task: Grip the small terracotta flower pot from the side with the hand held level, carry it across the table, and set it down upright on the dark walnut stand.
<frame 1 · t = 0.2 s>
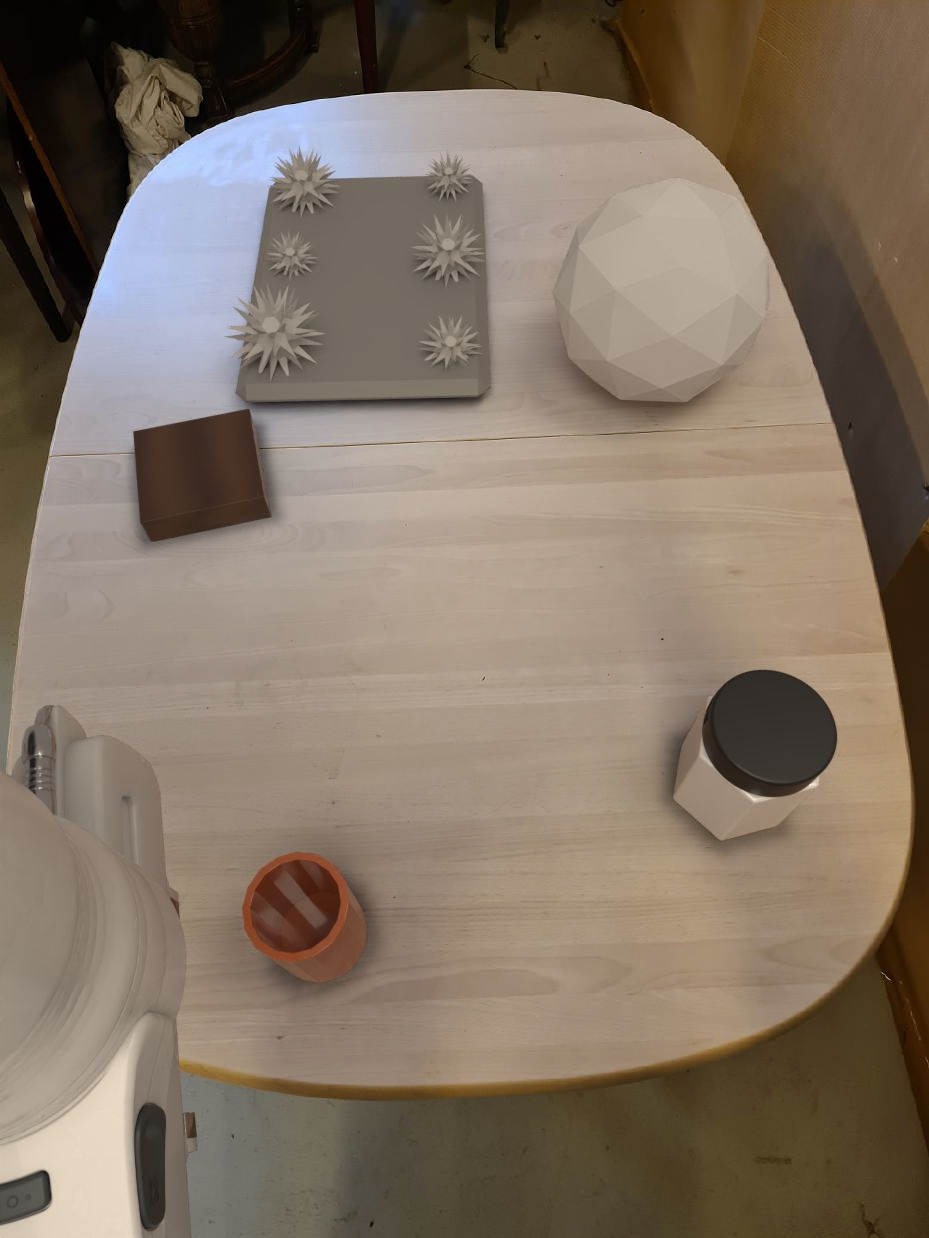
hand: (170, 1018, 39), 21 cm above the table, tool pointing down, fingers open, 8 cm apart
pot: (322, 933, 61), on the table
sphere: (643, 372, 88), on the table
jar: (726, 786, 66), on the table
decorative tray: (368, 295, 94), on the table
stand: (205, 483, 81), on the table
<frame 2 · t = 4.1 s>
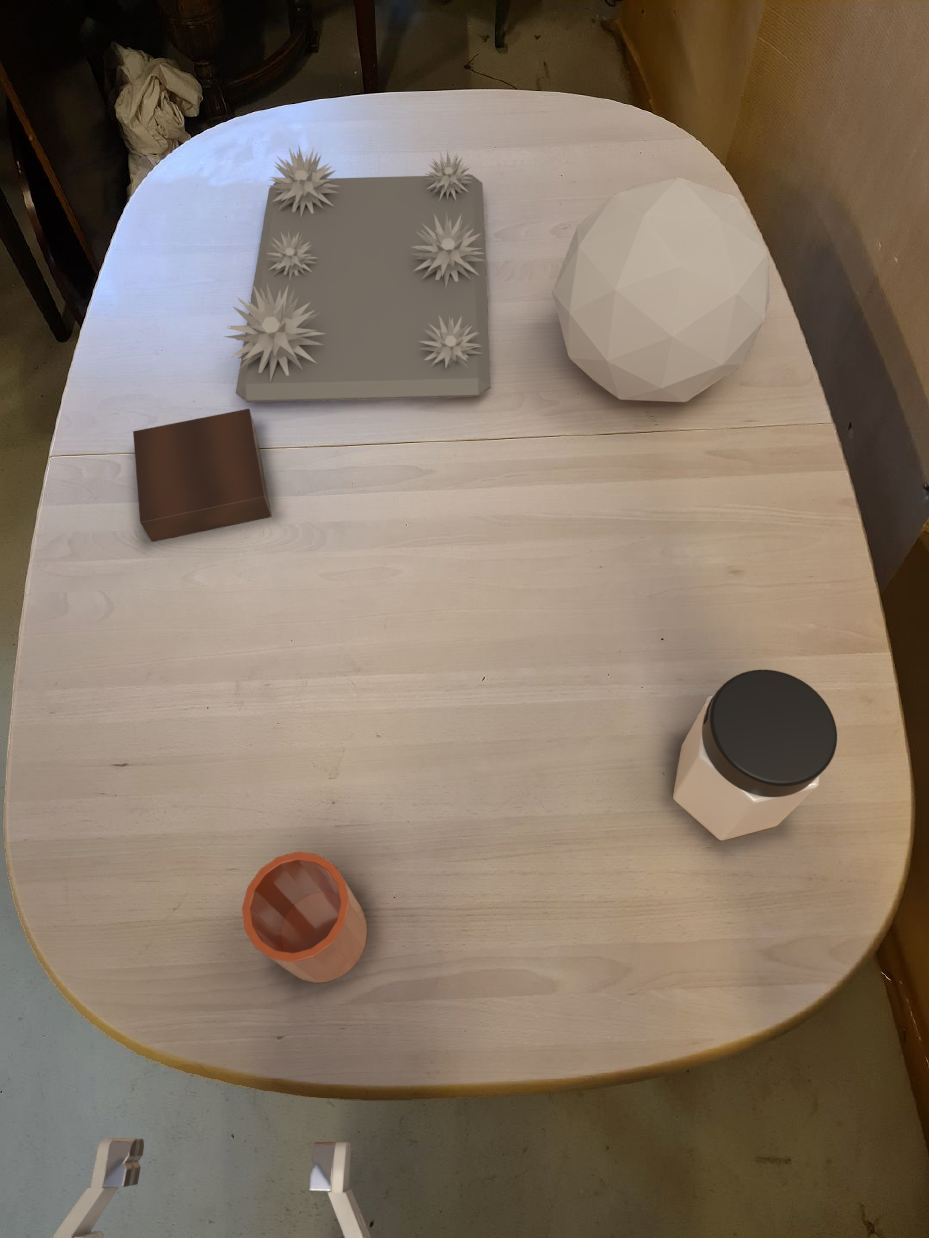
hand: (227, 1139, 38), 19 cm above the table, tool horizontal, fingers open, 8 cm apart
nothing on the table moved.
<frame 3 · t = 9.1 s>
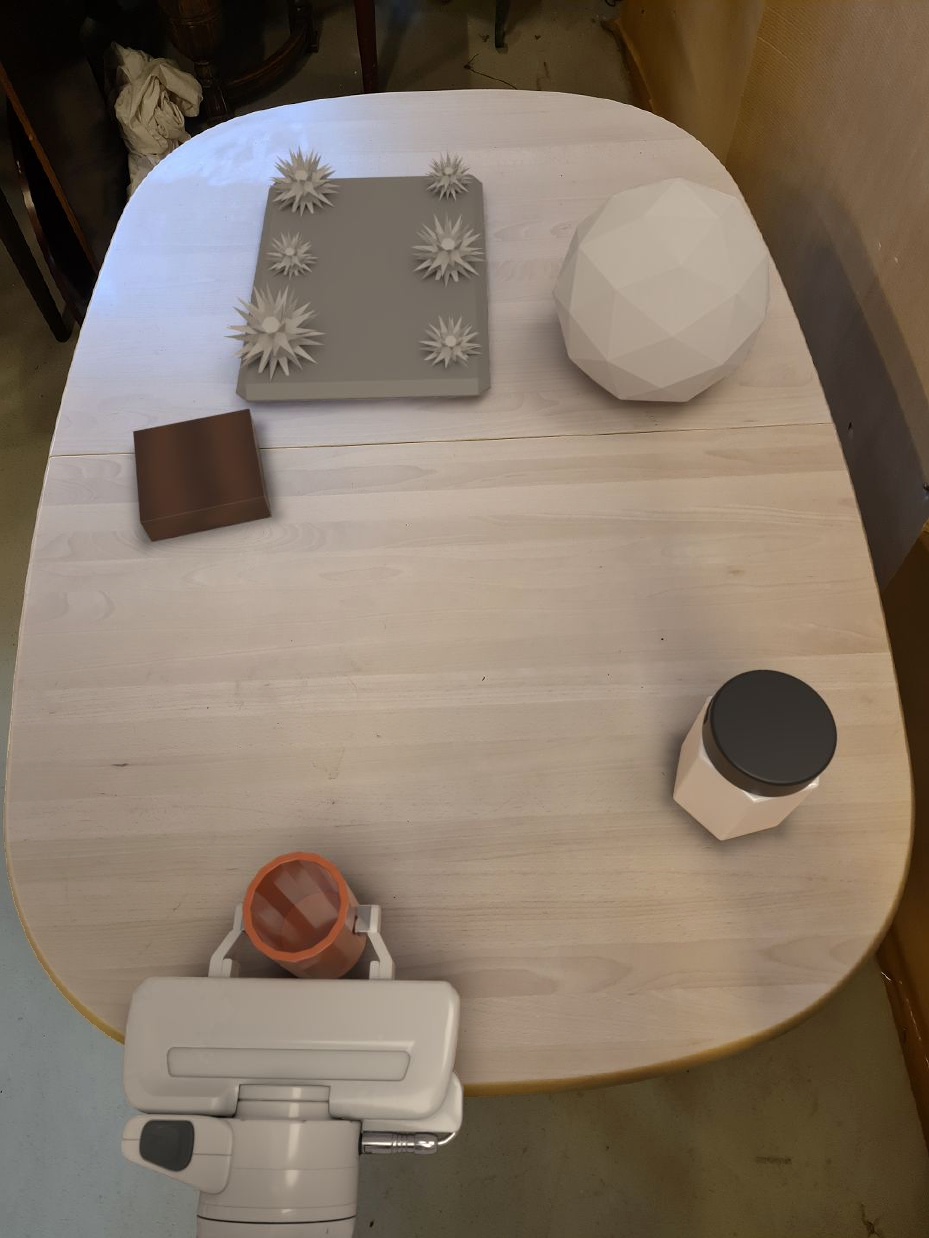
hand: (309, 904, 56), 6 cm above the table, tool horizontal, fingers closed on pot, 6 cm apart
pot: (322, 933, 61), on the table, touching gripper
everything else where it was.
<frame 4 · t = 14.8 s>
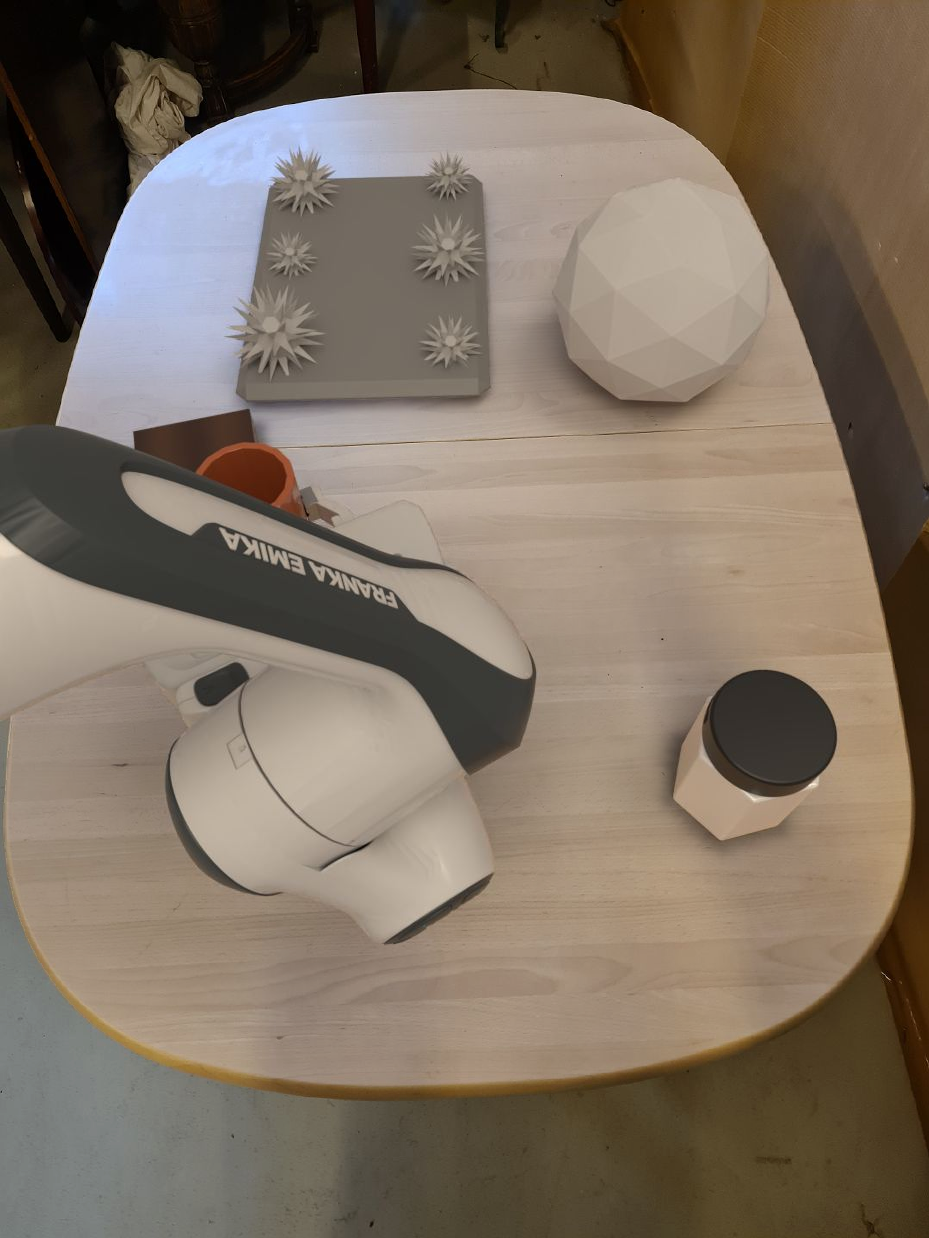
hand: (253, 513, 59), 17 cm above the table, tool horizontal, fingers closed on pot, 6 cm apart
pot: (275, 567, 63), point 11 cm above the table, touching gripper
everything else where it was.
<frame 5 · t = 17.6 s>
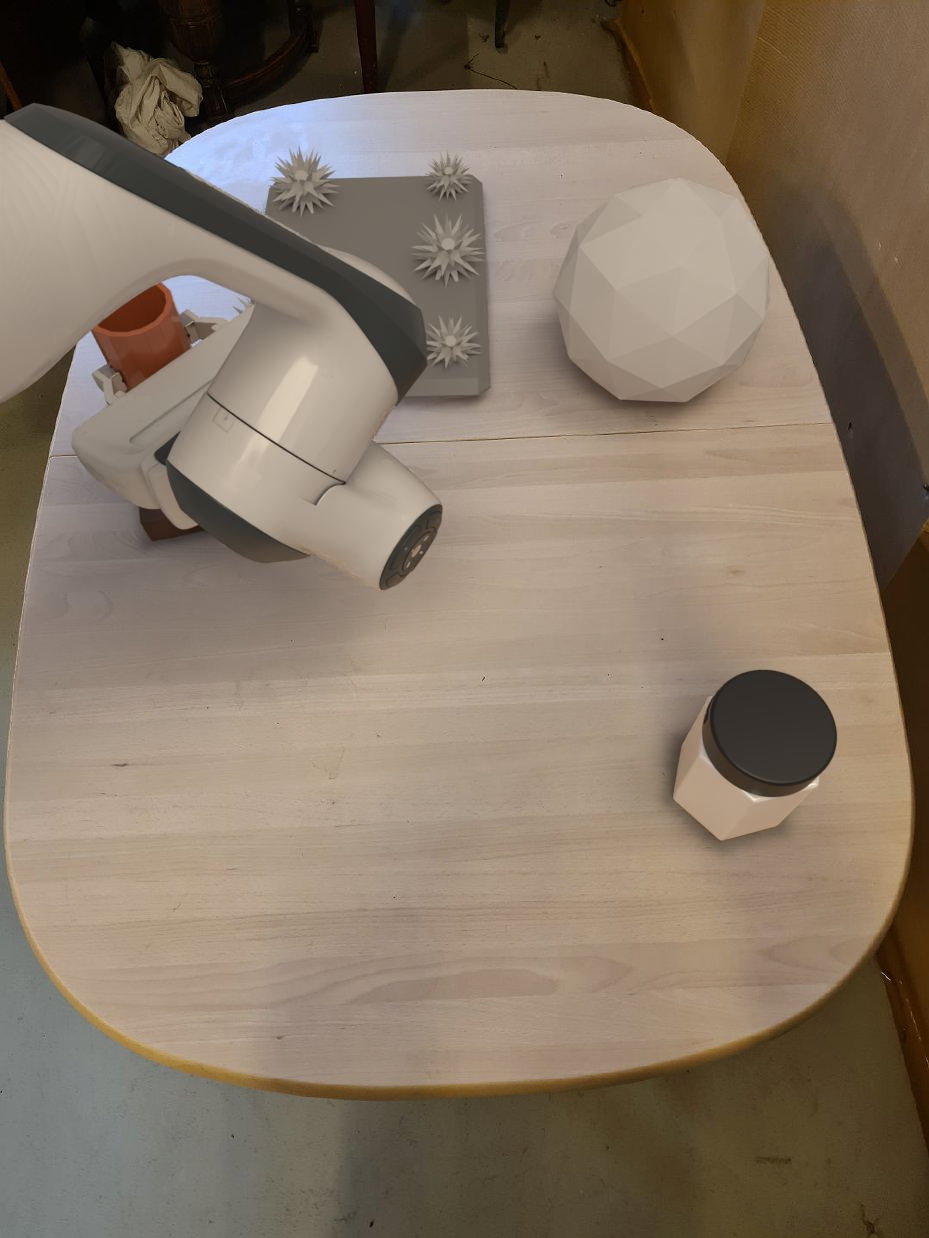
hand: (142, 347, 67), 16 cm above the table, tool horizontal, fingers closed on pot, 6 cm apart
pot: (172, 402, 72), point 11 cm above the table, touching gripper
everything else where it was.
when the fingers open (8 cm above the table, at t = 20.3 s): pot stays where it is, resting on stand.
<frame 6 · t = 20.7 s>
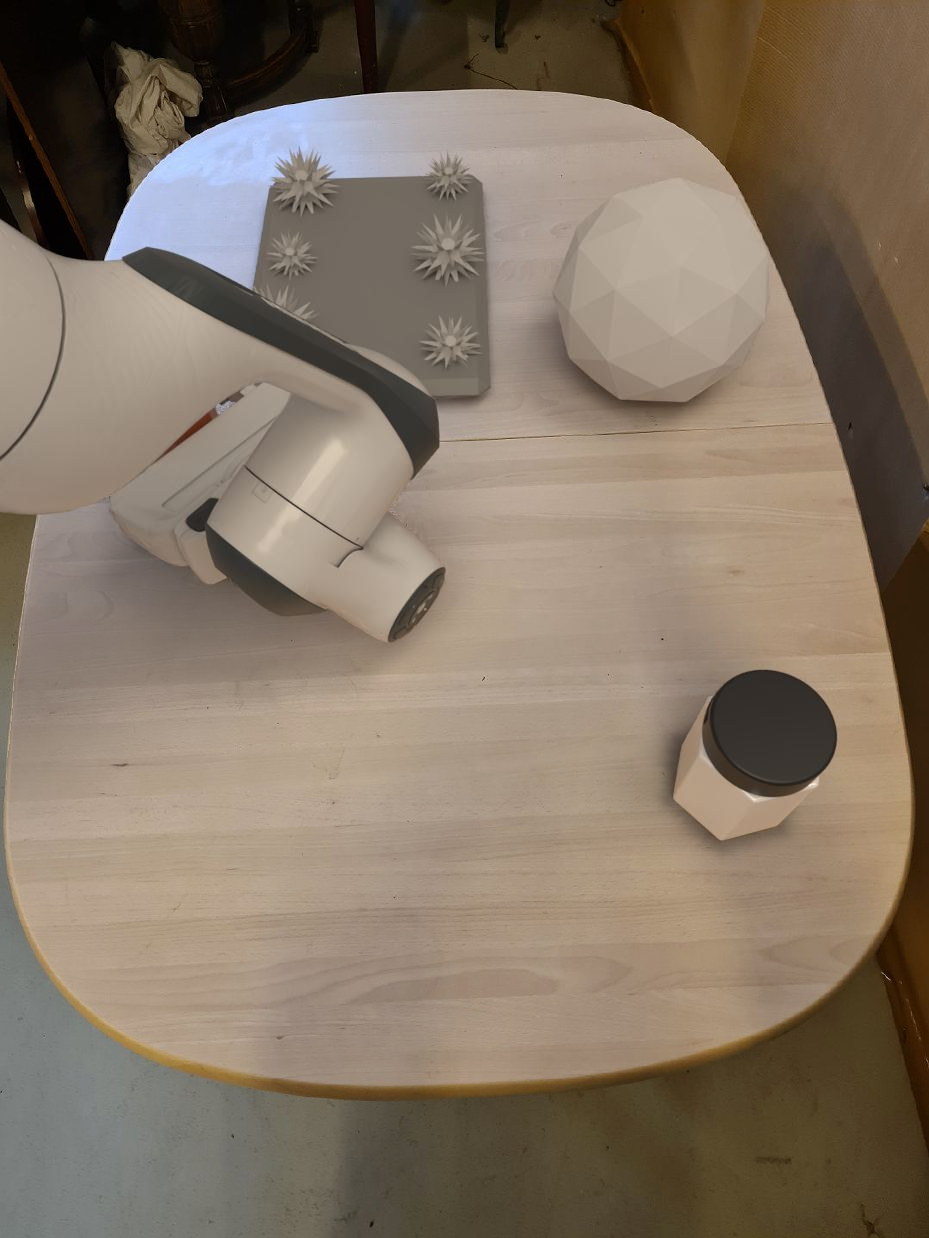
hand: (170, 414, 74), 9 cm above the table, tool horizontal, fingers open, 8 cm apart
pot: (198, 462, 79), point 3 cm above the table, touching stand
everything else where it was.
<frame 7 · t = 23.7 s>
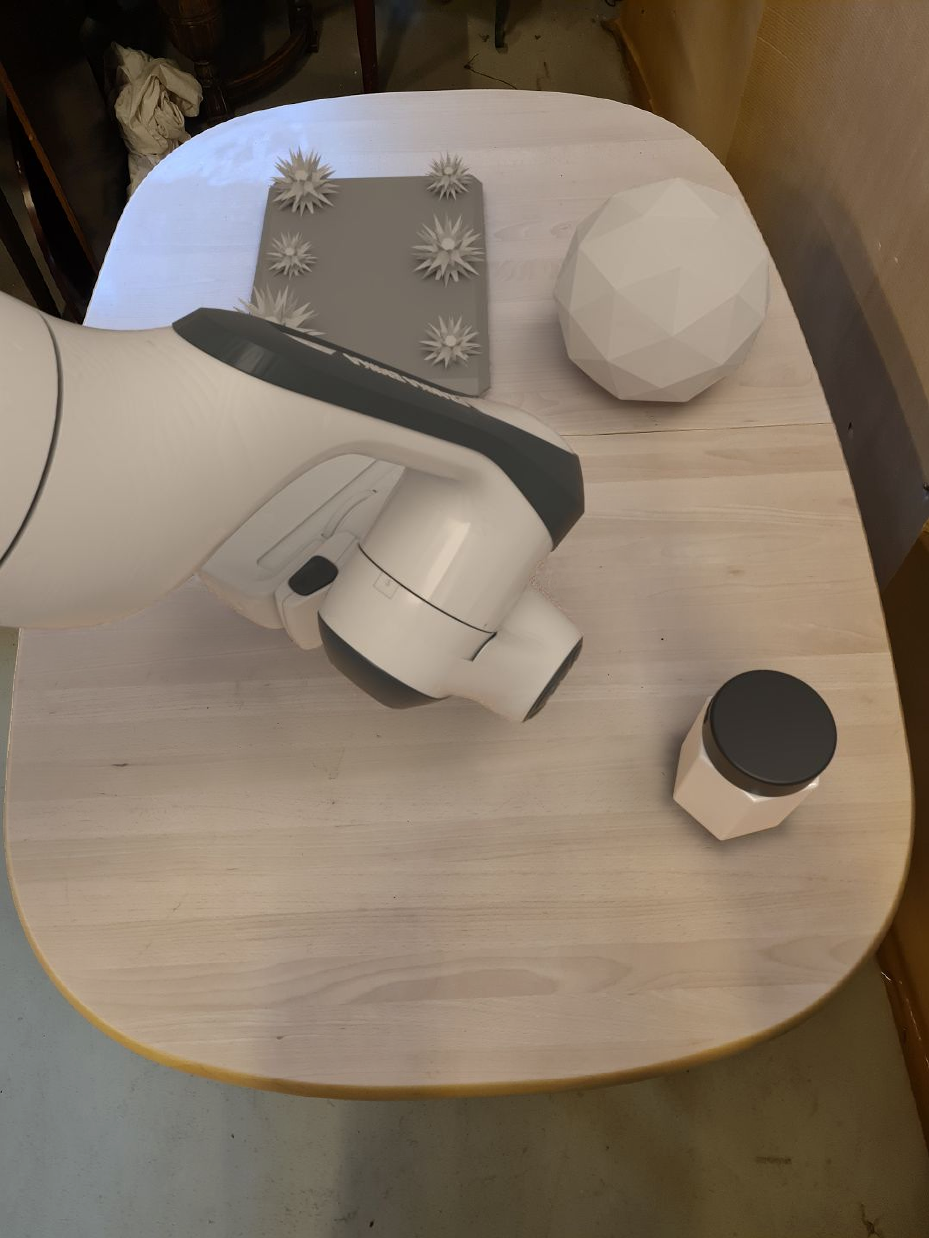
hand: (255, 454, 66), 13 cm above the table, tool horizontal, fingers open, 8 cm apart
nothing on the table moved.
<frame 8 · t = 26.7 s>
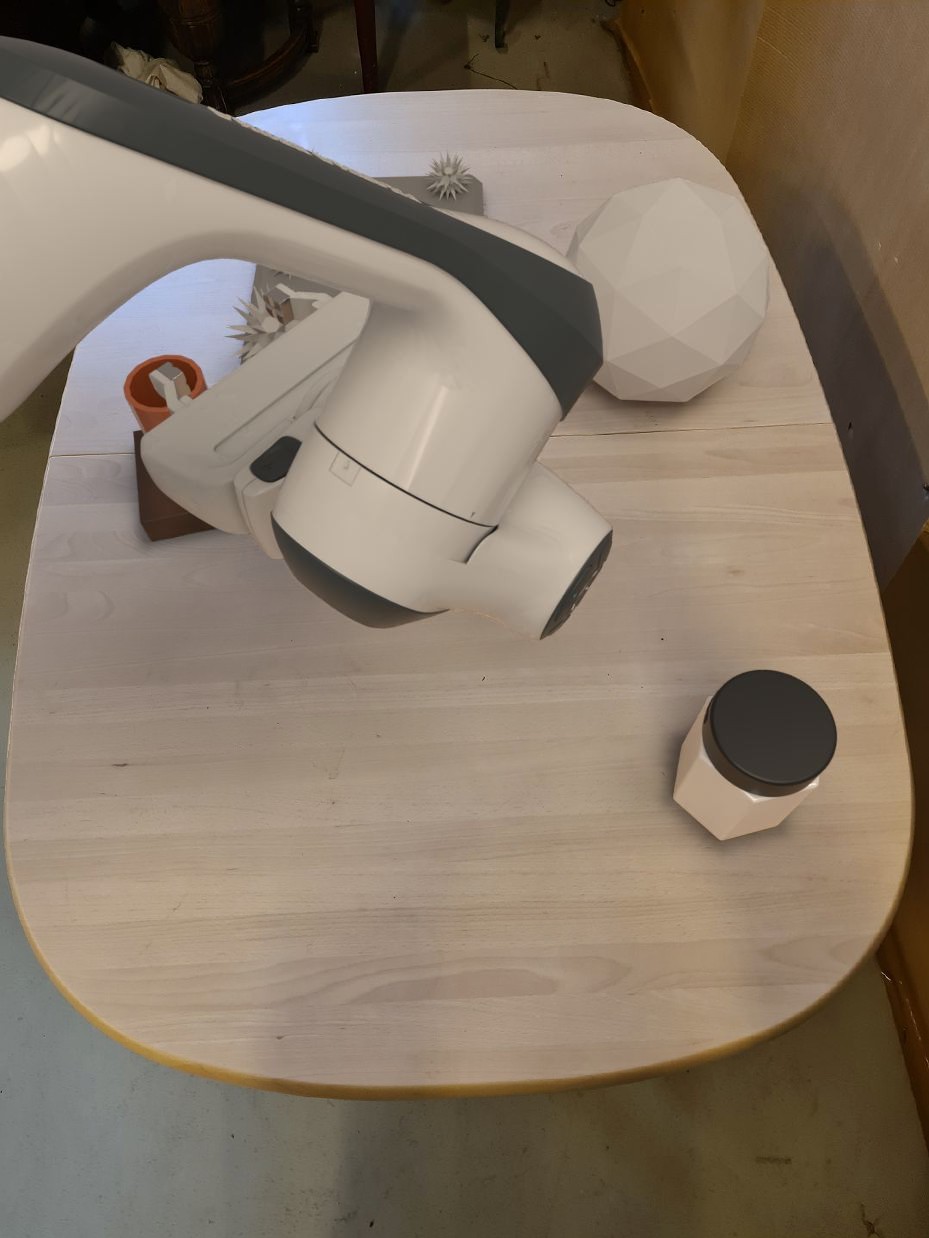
hand: (218, 335, 55), 25 cm above the table, tool horizontal, fingers open, 8 cm apart
nothing on the table moved.
at the end: pot inside the target area on the stand (0.2 cm from its centre), point 3.0 cm above the stand's base; pot tilted 0°; the gripper is holding nothing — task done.
